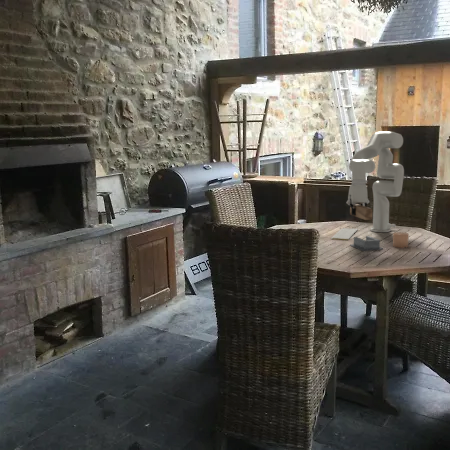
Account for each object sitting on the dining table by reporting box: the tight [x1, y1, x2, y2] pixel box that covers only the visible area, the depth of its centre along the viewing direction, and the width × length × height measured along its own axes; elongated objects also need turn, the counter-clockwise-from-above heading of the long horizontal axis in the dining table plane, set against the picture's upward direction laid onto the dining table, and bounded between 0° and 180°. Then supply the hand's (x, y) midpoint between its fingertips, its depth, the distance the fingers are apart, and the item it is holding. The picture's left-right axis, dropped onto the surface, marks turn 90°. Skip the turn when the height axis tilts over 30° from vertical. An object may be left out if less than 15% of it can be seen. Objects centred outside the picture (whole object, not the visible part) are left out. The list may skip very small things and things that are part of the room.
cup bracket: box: [349, 235, 384, 252], centre depth 283 cm, size 12×14×5 cm
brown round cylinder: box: [392, 231, 410, 249], centre depth 284 cm, size 8×8×7 cm
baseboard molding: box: [330, 225, 359, 241], centre depth 318 cm, size 31×3×12 cm
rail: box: [349, 203, 373, 221], centre depth 290 cm, size 4×20×6 cm, turn 10°
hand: (357, 214), depth 294 cm, fingers closed on rail, 4 cm apart
